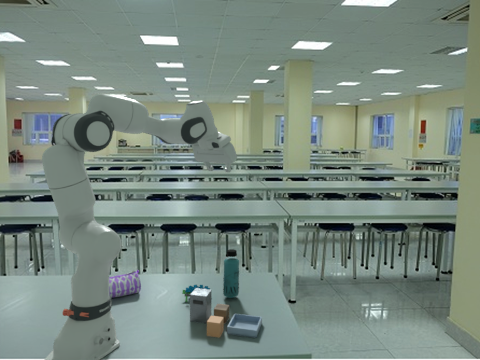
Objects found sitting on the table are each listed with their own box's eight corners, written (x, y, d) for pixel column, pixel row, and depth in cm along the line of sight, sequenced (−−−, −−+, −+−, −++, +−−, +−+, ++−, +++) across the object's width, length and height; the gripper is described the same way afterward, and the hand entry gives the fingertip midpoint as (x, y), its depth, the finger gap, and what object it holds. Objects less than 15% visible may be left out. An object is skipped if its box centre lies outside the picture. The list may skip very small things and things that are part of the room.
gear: (212, 291, 163) (207, 281, 155) (212, 305, 159) (207, 296, 151) (185, 294, 163) (179, 284, 156) (185, 308, 160) (179, 299, 152)
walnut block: (225, 323, 139) (226, 310, 139) (213, 322, 140) (213, 308, 140) (229, 318, 144) (229, 305, 143) (217, 316, 145) (217, 303, 144)
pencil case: (136, 287, 171) (136, 265, 170) (144, 294, 163) (144, 272, 162) (82, 298, 158) (82, 275, 157) (88, 307, 151) (87, 283, 149)
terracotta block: (219, 337, 130) (219, 323, 129) (206, 335, 131) (206, 321, 130) (223, 331, 134) (223, 317, 134) (210, 329, 135) (210, 315, 135)
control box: (205, 323, 139) (206, 296, 138) (189, 321, 140) (189, 294, 139) (211, 315, 145) (211, 289, 144) (196, 313, 147) (196, 287, 146)
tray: (256, 338, 130) (256, 330, 130) (227, 334, 132) (227, 326, 132) (261, 323, 140) (262, 316, 139) (234, 320, 142) (234, 313, 142)
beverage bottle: (220, 299, 159) (220, 251, 156) (226, 293, 165) (227, 246, 162) (235, 302, 157) (236, 253, 154) (241, 296, 163) (242, 248, 160)
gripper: (185, 143, 158) (196, 173, 164) (223, 144, 145) (234, 176, 151) (195, 136, 162) (206, 166, 168) (233, 136, 149) (243, 168, 155)
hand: (220, 171), depth 160 cm, fingers open, 8 cm apart
